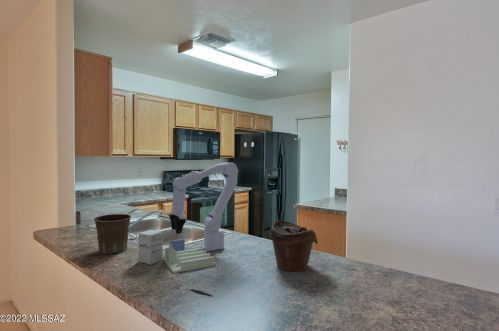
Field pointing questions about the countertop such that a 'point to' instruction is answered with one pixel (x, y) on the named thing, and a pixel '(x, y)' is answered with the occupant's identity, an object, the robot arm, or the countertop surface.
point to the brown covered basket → (292, 245)
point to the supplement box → (150, 246)
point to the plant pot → (112, 232)
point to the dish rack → (187, 259)
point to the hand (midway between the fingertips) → (176, 231)
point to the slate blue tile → (178, 244)
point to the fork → (192, 289)
